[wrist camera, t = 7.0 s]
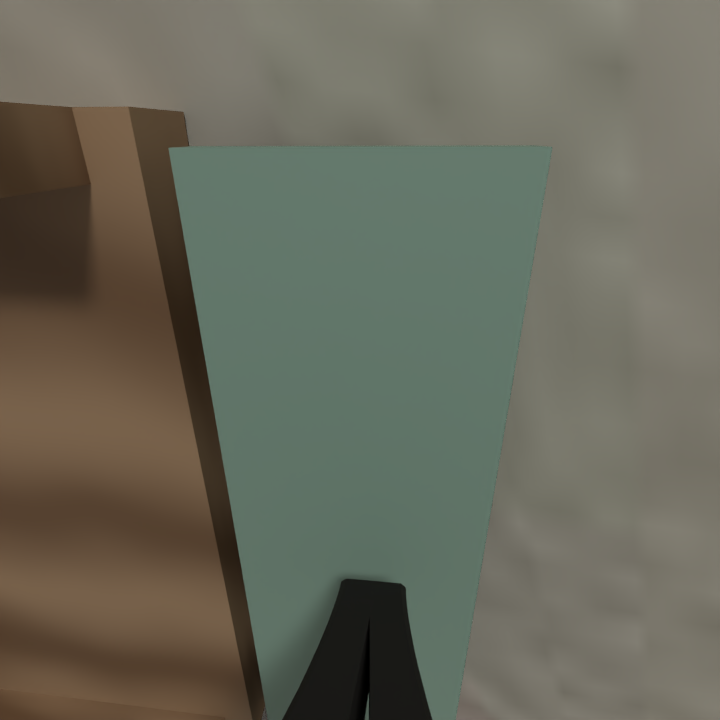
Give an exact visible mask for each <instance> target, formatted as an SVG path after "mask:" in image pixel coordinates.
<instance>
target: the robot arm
mask: <svg viewBox="0 0 720 720" xmlns="http://www.w3.org/2000/svg"><path fill="white" fill-rule="evenodd" d="M368 694H369V720H432V716H431V713H430V709H429V706H428V702H427V698H426V694H425V691H424V687H423V683H422V679H421V675H420V672H419V667H418V663H417V659H416V654H415V650H414V645H413V640H412V635H411V629H410V623H409V617H408V609H407V600H406V587H405V586H404V585H402V584H401V583H391V582H380V581H369V580H358V579H347V578H346V579H345V580H343V581H341V585H340V588H339V592H338V595H337V598H336V601H335V604H334V607H333V610H332V613H331V616H330V618H329V621H328V623H327V626H326V628H325V631H324V633H323V636H322V638H321V640H320V643H319V645H318V647H317V649H316V652H315V654H314V656H313V658H312V660H311V662H310V665H309V667H308V669H307V671H306V673H305V676H304V678H303V680H302V682H301V684H300V686H299V688H298V690H297V692H296V694H295V696H294V698H293V700H292V702H291V704H290V705H289V707H288V709H287V711H286V713H285V715H284V717H283V719H282V720H365V714H366V708H367V701H368Z"/></svg>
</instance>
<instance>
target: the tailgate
mask: <svg viewBox="0 0 720 720" xmlns="http://www.w3.org/2000/svg"><path fill="white" fill-rule="evenodd" d="M168 149H169V155H170V160H171V166H172V172H173V178H174V183H175V189H176V195H177V201H178V206H179V212H180V218H181V224H182V229H183V235H184V241H185V247H186V252H187V258H188V264H189V270H190V275H191V281H192V287H193V292H194V298H195V304H196V310H197V315H198V321H199V327H200V333H201V338H202V344H203V350H204V356H205V361H206V367H207V373H208V379H209V384H210V390H211V396H212V402H213V407H214V413H215V419H216V425H217V430H218V436H219V442H220V448H221V453H222V459H223V465H224V471H225V476H226V482H227V488H228V494H229V499H230V505H231V511H232V517H233V522H234V528H235V534H236V540H237V545H238V551H239V557H240V563H241V568H242V574H243V580H244V586H245V591H246V597H247V603H248V609H249V614H250V620H251V626H252V632H253V637H254V643H255V649H256V655H257V660H258V666H259V672H260V678H261V683H262V689H263V695H264V701H265V706H266V712H267V718H268V720H282V719H283V717H284V715H285V713H286V711H287V709H288V707H289V705H290V704H291V702H292V700H293V698H294V696H295V694H296V692H297V690H298V688H299V686H300V684H301V682H302V680H303V678H304V676H305V673H306V671H307V669H308V667H309V665H310V662H311V660H312V658H313V656H314V654H315V652H316V649H317V647H318V645H319V643H320V640H321V638H322V636H323V633H324V631H325V628H326V626H327V623H328V621H329V618H330V616H331V613H332V610H333V607H334V604H335V601H336V598H337V595H338V592H339V588H340V585H341V581H343V580H345V579H346V578H347V579H358V580H369V581H380V582H391V583H401V584H402V585H404V586H405V587H406V600H407V609H408V617H409V623H410V629H411V635H412V640H413V645H414V650H415V654H416V659H417V663H418V667H419V672H420V675H421V679H422V683H423V687H424V691H425V694H426V698H427V702H428V706H429V709H430V713H431V716H432V720H456V714H457V708H458V702H459V696H460V691H461V685H462V679H463V673H464V667H465V661H466V655H467V649H468V643H469V637H470V631H471V625H472V620H473V614H474V608H475V602H476V596H477V590H478V584H479V578H480V572H481V566H482V560H483V555H484V549H485V543H486V537H487V531H488V525H489V519H490V513H491V507H492V501H493V495H494V489H495V484H496V478H497V472H498V466H499V460H500V454H501V448H502V442H503V436H504V430H505V424H506V418H507V413H508V407H509V401H510V395H511V389H512V383H513V377H514V371H515V365H516V359H517V353H518V347H519V342H520V336H521V330H522V324H523V318H524V312H525V306H526V300H527V294H528V288H529V282H530V276H531V271H532V265H533V259H534V253H535V247H536V241H537V235H538V229H539V223H540V217H541V211H542V206H543V200H544V194H545V188H546V182H547V176H548V170H549V164H550V158H551V152H552V147H546V146H188V147H172V148H168ZM365 720H369V694H368V701H367V708H366V714H365Z"/></svg>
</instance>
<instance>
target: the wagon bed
mask: <svg viewBox="0 0 720 720" xmlns="http://www.w3.org/2000/svg"><path fill="white" fill-rule="evenodd" d="M188 146H189V145H188V138H187V132H186V125H185V119H184V113H183V112H178V111H168V110H157V109H146V108H136V107H61V106H48V105H35V104H22V103H9V102H0V720H261V718H262V715H263V711H264V707H265V701H264V695H263V689H262V683H261V678H260V672H259V666H258V660H257V655H256V649H255V643H254V637H253V632H252V626H251V620H250V614H249V609H248V603H247V597H246V591H245V586H244V580H243V574H242V568H241V563H240V557H239V551H238V545H237V540H236V534H235V528H234V522H233V517H232V511H231V505H230V499H229V494H228V488H227V482H226V476H225V471H224V465H223V459H222V453H221V448H220V442H219V436H218V430H217V425H216V419H215V413H214V407H213V402H212V396H211V390H210V384H209V379H208V373H207V367H206V361H205V356H204V350H203V344H202V338H201V333H200V327H199V321H198V315H197V310H196V304H195V298H194V292H193V287H192V281H191V275H190V270H189V264H188V258H187V252H186V247H185V241H184V235H183V229H182V224H181V218H180V212H179V206H178V201H177V195H176V189H175V183H174V178H173V172H172V166H171V160H170V155H169V149H168V148H172V147H188Z"/></svg>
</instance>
